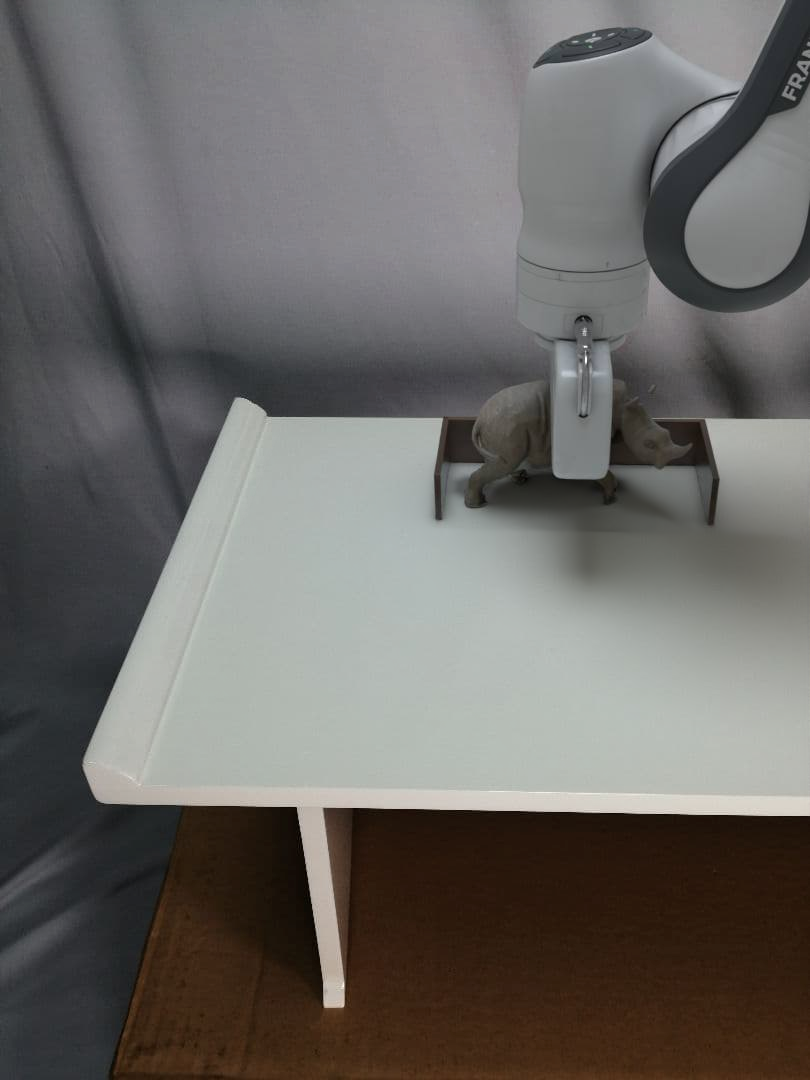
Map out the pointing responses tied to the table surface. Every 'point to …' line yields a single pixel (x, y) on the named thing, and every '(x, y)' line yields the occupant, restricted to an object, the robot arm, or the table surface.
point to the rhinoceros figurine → (525, 436)
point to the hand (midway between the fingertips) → (573, 470)
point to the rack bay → (682, 433)
